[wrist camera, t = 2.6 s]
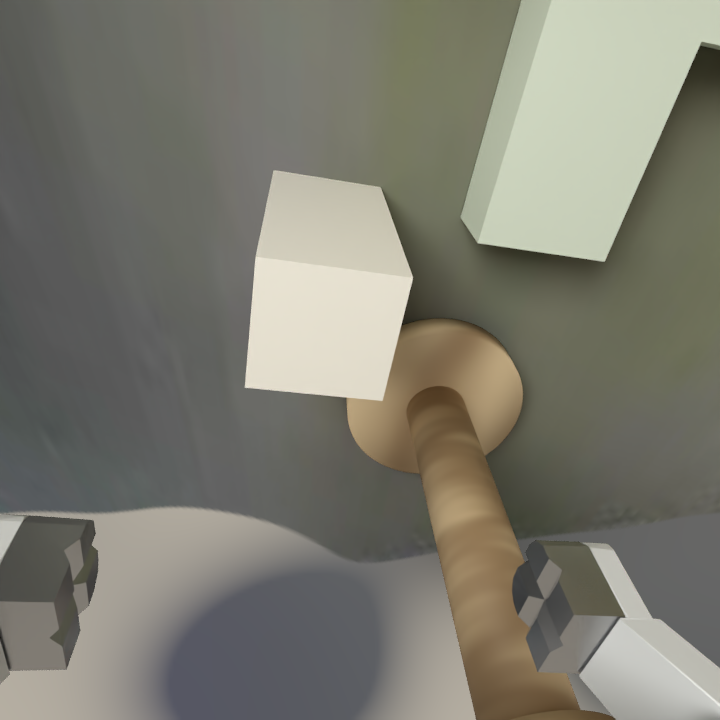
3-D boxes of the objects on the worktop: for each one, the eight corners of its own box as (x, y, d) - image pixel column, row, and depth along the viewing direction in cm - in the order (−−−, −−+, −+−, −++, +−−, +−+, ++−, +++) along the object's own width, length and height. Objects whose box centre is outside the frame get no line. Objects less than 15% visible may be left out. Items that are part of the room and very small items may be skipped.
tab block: (380, 187, 24) (413, 277, 16) (361, 283, 26) (382, 400, 19) (273, 170, 23) (255, 256, 15) (264, 270, 25) (244, 387, 18)
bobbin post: (538, 329, 28) (798, 714, 13) (485, 460, 33) (632, 853, 18) (362, 307, 27) (430, 711, 12) (334, 448, 31) (356, 863, 16)
